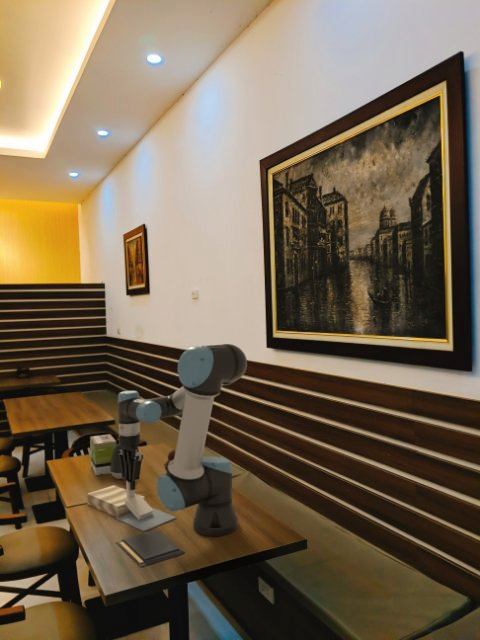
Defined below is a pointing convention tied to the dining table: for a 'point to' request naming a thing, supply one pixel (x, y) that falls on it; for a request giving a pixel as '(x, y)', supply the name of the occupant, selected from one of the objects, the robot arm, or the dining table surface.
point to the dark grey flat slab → (149, 548)
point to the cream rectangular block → (139, 507)
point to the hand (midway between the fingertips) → (130, 498)
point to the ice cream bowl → (170, 458)
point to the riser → (110, 500)
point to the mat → (147, 520)
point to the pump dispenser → (116, 464)
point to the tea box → (102, 453)
